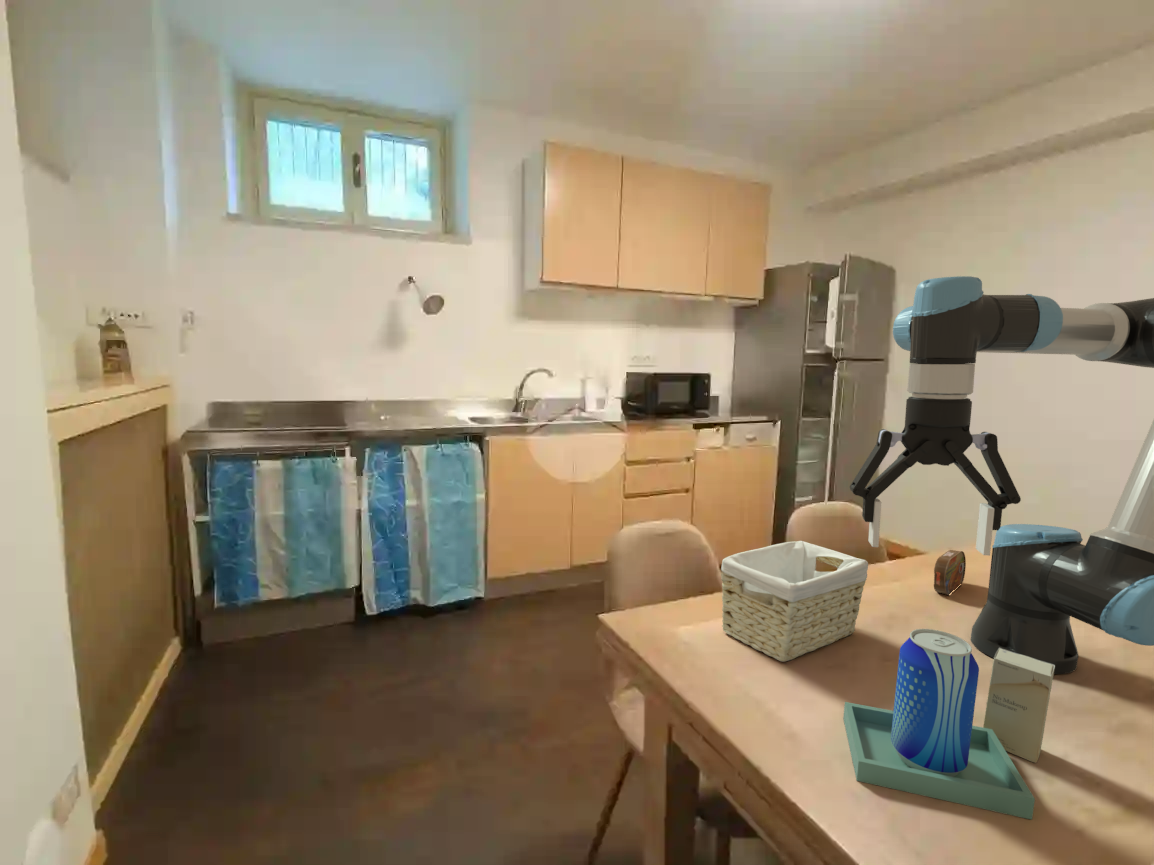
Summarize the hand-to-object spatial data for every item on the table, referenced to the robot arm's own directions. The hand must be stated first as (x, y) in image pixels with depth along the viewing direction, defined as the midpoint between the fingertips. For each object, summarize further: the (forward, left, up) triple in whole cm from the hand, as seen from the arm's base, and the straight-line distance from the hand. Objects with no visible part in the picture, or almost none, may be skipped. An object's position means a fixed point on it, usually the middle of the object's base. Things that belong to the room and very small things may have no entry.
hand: (926, 548), depth 81 cm
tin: (-20, -57, -25) cm, 66 cm away
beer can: (0, +11, -25) cm, 27 cm away
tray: (0, +11, -25) cm, 27 cm away
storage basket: (+15, -21, -26) cm, 36 cm away
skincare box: (-12, +3, -25) cm, 28 cm away
